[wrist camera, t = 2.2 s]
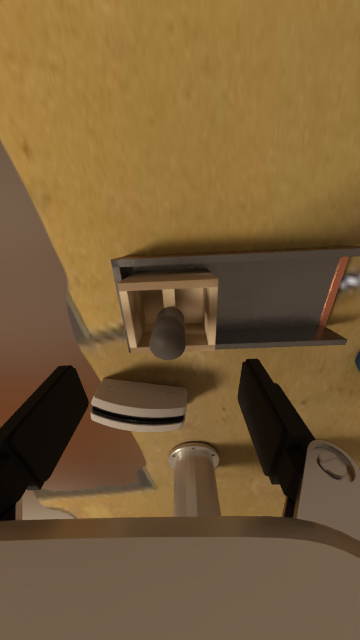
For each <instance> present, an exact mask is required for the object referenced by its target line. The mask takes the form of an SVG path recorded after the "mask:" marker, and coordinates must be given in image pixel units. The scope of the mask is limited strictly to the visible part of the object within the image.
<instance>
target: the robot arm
mask: <svg viewBox="0 0 360 640" xmlns="http://www.w3.org/2000/svg"><path fill="white" fill-rule="evenodd" d="M238 402H239V405H240V408H241V411H242V414H243V416H244V419H245V422H246V425H247V428H248V430H249V433H250V436H251V439H252V442H253V444H254V447H255V450H256V453H257V456H258V458H259V461H260V464H261V467H262V470H263V472H264V474H265V475H266V476H269V478H270V481H271V484H280V486H281V488H282V490H283V493H284V495H286V499H285V504H284V508H283V513H282V517H272V516H221V512H220V505H219V498H218V492H217V485H216V478H215V472H214V469H215V468H216V467H217V465H218V463H219V456H218V453H217V451H216V450H215V449H214V448H213V447H211V446H209V445H207V444H204V443H197V442H191V443H185V444H181V445H179V446H177V447H175V448H174V449H173V450H172V451H171V452H170V454H169V459H168V462H169V465H170V467H171V468H172V469H173V470H174V507H173V517H138V518H90V519H53V520H52V519H50V520H22V496H23V494H24V492H25V490H26V489H27V490H40V489H41V487H42V486H43V484H44V482H45V481H47V479H49V477H50V476H51V474H52V472H53V470H54V468H55V467H56V465H57V463H58V461H59V459H60V457H61V456H62V454H63V452H64V450H65V448H66V446H67V445H68V443H69V440H70V439H71V437H72V435H73V433H74V432H75V430H76V428H77V426H78V424H79V422H80V421H81V419H82V417H83V415H84V413H85V411H86V409H87V407H88V404H89V401H88V398H87V396H86V393H85V391H84V388H83V386H82V384H81V381H80V379H79V377H78V373H77V371H76V369H75V368H73V367H72V366H70V365H68V366H59V367H57V369H55V370H54V372H53V373H52V374H51V375H50V376H49V377H48V378H47V379H46V380H45V381H44V382H43V383H42V384H41V386H39V388H38V389H37V390H36V391H35V392H34V393H33V394H32V395H31V396H30V397H29V398H28V399H27V401H26V402H24V404H23V405H22V406H21V407H20V408H19V409H18V410H17V411H16V412H15V413H14V414H13V415H12V416H11V417H10V419H9V420H8V421H7V422H6V423H5V424H4V425H3V426H2V427H1V428H0V640H360V469H359V468H358V466H357V464H356V463H355V462H354V460H353V459H352V458H351V457H350V456H349V455H348V454H347V453H346V452H345V451H344V450H342V449H341V448H339V447H338V446H336V445H335V444H333V443H330V442H328V441H325V440H316V439H315V438H314V436H313V435H312V433H311V432H310V430H309V429H308V428H307V426H306V425H305V423H304V422H303V420H302V419H301V417H300V416H299V414H298V413H297V411H296V410H295V408H294V407H293V405H292V404H291V402H290V401H289V399H288V398H287V396H286V395H285V393H284V392H283V390H282V389H281V387H280V386H279V385H278V384H276V383H273V381H272V379H271V378H270V376H269V375H268V373H267V372H266V370H265V369H264V367H263V366H262V364H261V362H260V361H259V360H258V359H246V362H243V364H242V370H241V377H240V384H239V391H238Z"/></svg>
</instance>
